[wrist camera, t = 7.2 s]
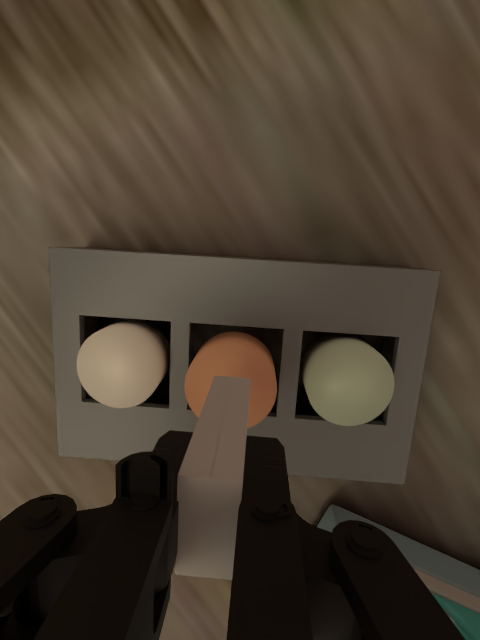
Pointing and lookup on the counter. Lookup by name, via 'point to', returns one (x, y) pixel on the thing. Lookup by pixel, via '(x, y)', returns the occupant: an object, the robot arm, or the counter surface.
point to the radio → (431, 574)
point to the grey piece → (251, 311)
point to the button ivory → (123, 362)
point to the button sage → (346, 379)
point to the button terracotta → (233, 372)
